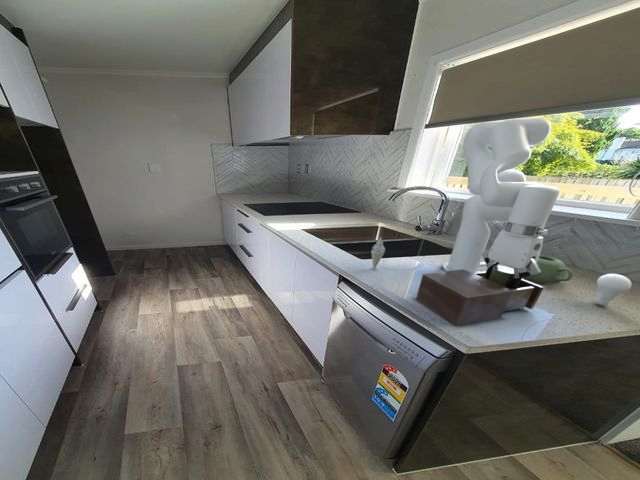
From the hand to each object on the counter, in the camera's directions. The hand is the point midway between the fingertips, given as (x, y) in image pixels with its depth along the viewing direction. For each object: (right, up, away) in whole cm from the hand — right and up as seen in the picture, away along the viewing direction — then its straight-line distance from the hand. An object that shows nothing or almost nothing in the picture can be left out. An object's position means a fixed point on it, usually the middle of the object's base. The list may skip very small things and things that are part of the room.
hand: (499, 282), depth 78 cm
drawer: (+1, -6, +3) cm, 7 cm away
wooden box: (-14, -8, 0) cm, 16 cm away
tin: (0, -1, 0) cm, 1 cm away
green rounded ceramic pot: (+33, -1, +17) cm, 37 cm away
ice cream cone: (-27, +3, +27) cm, 39 cm away
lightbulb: (+34, -8, +1) cm, 35 cm away
